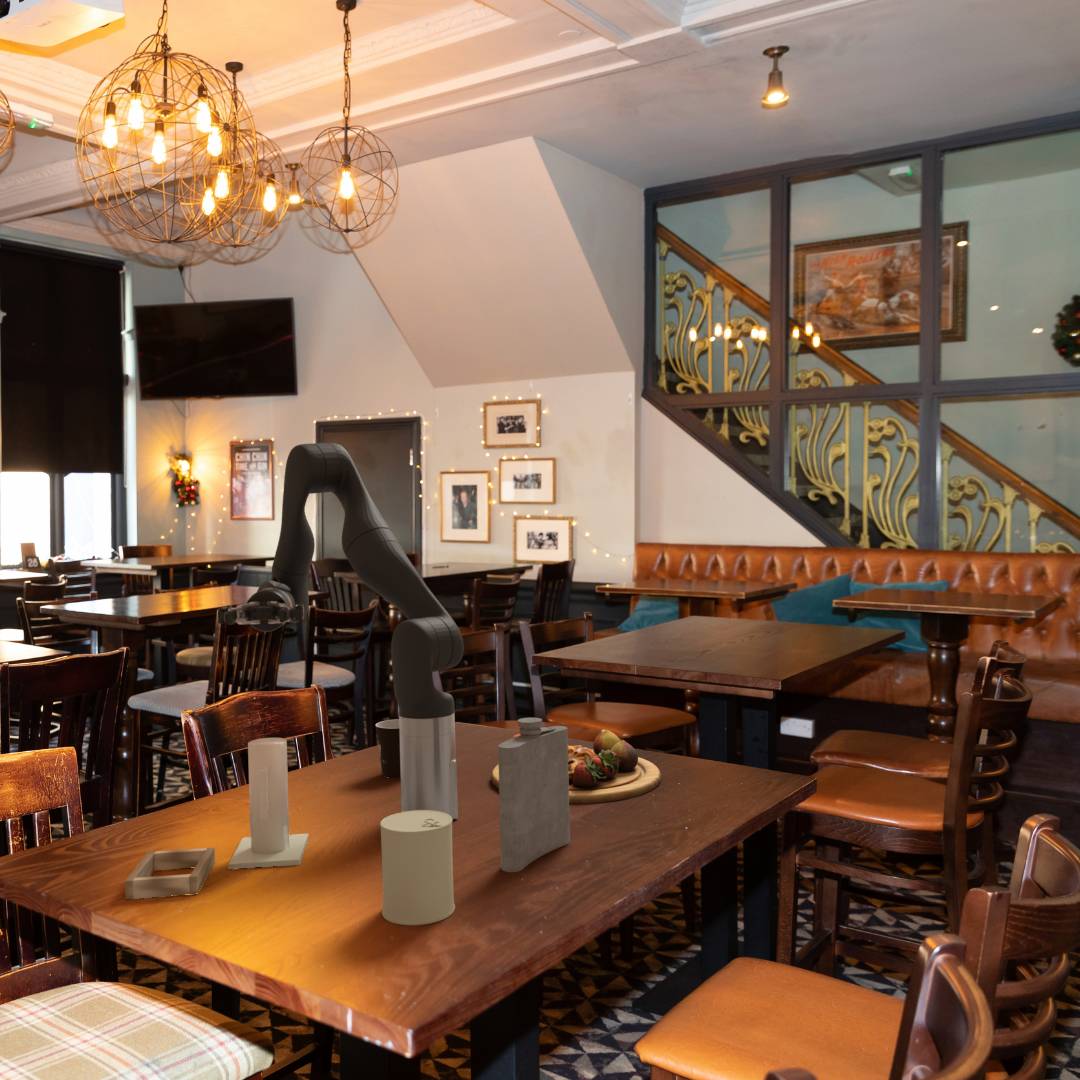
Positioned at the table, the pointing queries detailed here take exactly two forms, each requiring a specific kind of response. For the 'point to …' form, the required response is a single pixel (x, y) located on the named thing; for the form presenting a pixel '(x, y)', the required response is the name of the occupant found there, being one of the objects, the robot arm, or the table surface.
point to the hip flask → (533, 793)
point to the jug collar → (159, 886)
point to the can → (417, 867)
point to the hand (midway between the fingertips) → (255, 617)
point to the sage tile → (284, 858)
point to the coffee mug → (389, 747)
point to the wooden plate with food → (605, 771)
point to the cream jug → (268, 795)
